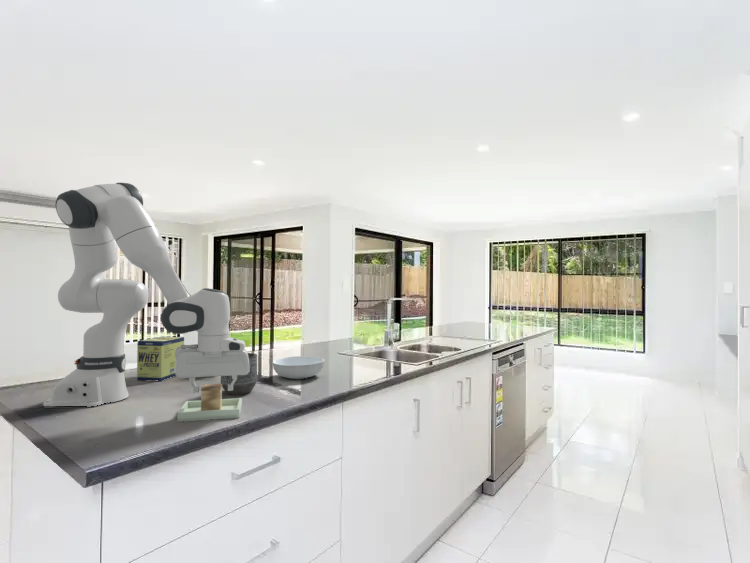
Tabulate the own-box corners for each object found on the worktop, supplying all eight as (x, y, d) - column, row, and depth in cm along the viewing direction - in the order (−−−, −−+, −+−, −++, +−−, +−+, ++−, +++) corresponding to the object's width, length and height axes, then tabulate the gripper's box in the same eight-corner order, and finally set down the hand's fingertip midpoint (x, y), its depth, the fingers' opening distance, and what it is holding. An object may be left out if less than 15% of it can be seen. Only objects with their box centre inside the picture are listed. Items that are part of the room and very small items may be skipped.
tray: (177, 421, 113) (177, 413, 113) (186, 409, 125) (186, 401, 125) (239, 417, 117) (239, 409, 117) (241, 405, 129) (242, 398, 129)
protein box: (136, 380, 162) (136, 340, 162) (161, 372, 177) (162, 336, 178) (161, 381, 161) (161, 341, 161) (184, 373, 176) (184, 336, 176)
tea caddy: (200, 413, 118) (200, 388, 118) (203, 408, 123) (203, 384, 123) (220, 412, 119) (220, 387, 119) (222, 407, 124) (222, 383, 124)
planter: (261, 387, 152) (261, 352, 152) (251, 396, 140) (251, 358, 140) (227, 387, 152) (228, 352, 152) (214, 396, 140) (215, 358, 140)
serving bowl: (280, 371, 182) (280, 355, 182) (327, 372, 181) (328, 356, 181) (265, 382, 161) (265, 364, 161) (319, 383, 160) (319, 365, 160)
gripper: (173, 346, 116) (172, 396, 116) (249, 344, 122) (249, 391, 122) (177, 343, 122) (176, 390, 122) (250, 341, 128) (249, 386, 128)
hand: (213, 391), depth 122 cm, fingers open, 8 cm apart
